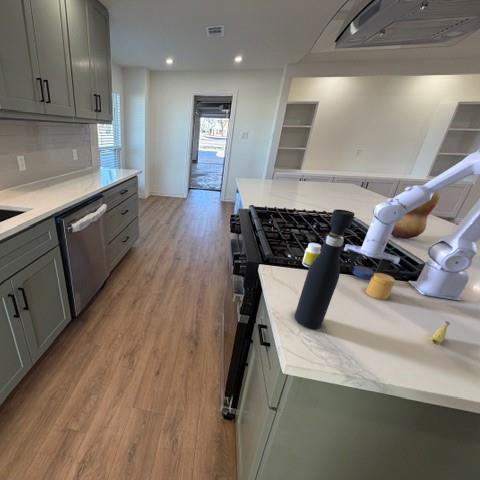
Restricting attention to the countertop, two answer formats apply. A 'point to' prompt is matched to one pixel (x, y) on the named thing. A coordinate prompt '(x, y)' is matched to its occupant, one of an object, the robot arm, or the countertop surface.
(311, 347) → the countertop surface
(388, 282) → the jam jar
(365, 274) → the jar lid
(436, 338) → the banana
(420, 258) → the countertop surface
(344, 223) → the black water bottle
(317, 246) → the supplement bottle
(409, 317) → the countertop surface
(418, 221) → the butternut squash
